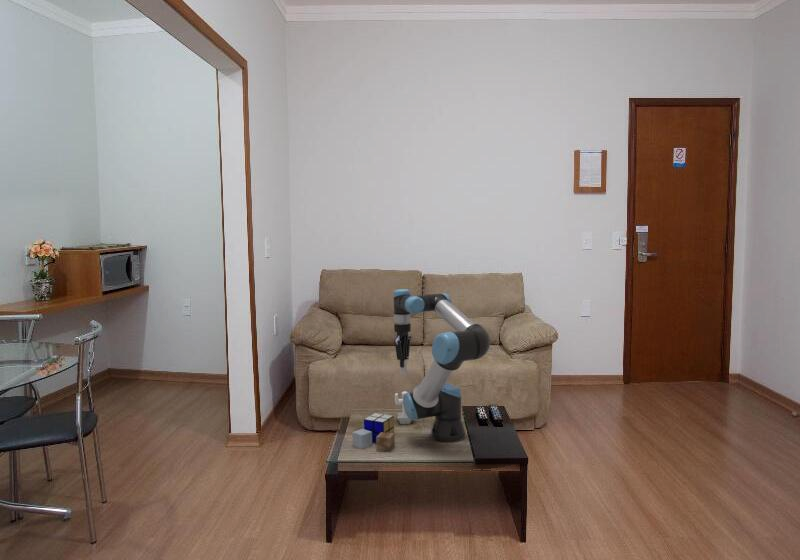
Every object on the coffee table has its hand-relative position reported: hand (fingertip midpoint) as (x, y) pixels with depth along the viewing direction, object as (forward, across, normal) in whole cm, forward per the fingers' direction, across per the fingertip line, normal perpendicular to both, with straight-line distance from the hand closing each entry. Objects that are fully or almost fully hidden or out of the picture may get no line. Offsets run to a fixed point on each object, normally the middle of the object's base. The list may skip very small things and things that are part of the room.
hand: (403, 373), depth 266 cm
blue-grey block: (+26, +25, -8) cm, 37 cm away
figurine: (+26, -8, -4) cm, 28 cm away
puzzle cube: (+27, +16, -4) cm, 31 cm away
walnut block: (+27, +25, +4) cm, 36 cm away
